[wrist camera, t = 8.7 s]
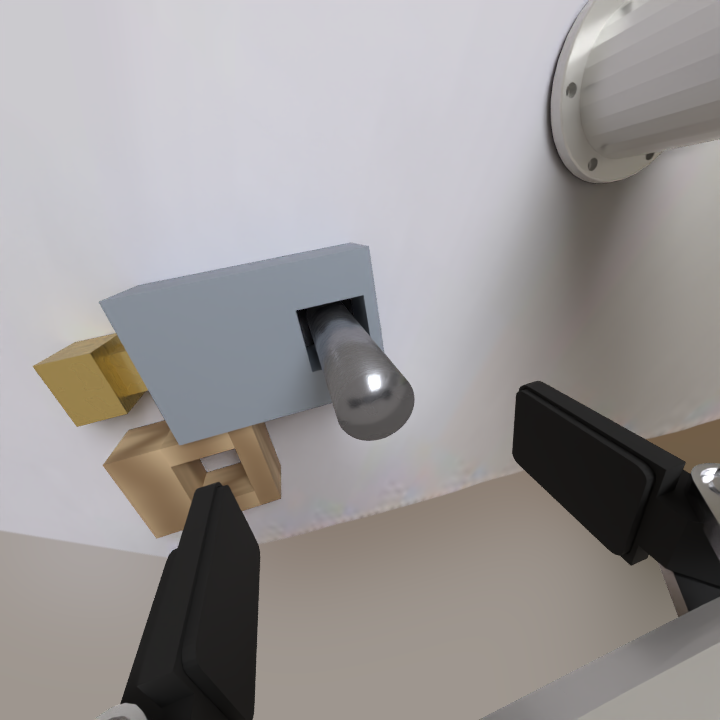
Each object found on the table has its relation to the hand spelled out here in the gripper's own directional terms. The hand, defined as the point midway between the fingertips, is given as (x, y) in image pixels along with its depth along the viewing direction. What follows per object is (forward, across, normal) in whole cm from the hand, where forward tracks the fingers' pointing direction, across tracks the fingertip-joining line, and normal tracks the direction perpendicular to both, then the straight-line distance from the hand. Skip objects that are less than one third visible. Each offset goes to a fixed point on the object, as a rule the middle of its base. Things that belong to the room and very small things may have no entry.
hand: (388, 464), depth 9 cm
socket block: (+17, +4, 0) cm, 17 cm away
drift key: (+17, +10, 0) cm, 20 cm away
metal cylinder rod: (+17, -1, 0) cm, 17 cm away
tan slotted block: (+17, +11, +9) cm, 22 cm away
